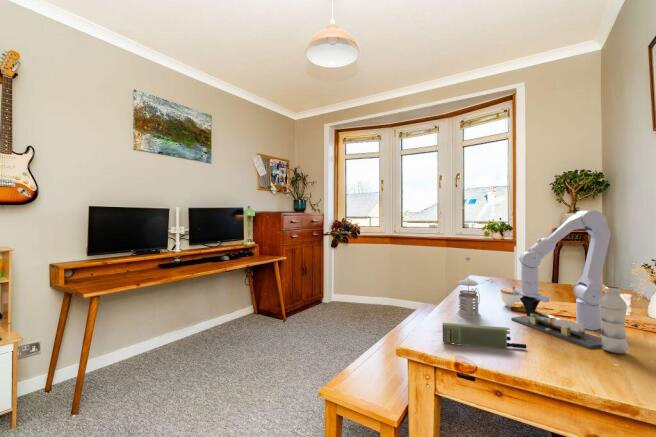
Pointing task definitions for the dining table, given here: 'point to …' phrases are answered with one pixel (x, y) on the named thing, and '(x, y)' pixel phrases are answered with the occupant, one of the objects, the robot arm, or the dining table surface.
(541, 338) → the dining table surface
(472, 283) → the french press
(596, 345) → the plate
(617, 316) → the plastic bottle
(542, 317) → the tube
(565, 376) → the dining table surface
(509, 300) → the lidded jar
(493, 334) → the handheld radio
